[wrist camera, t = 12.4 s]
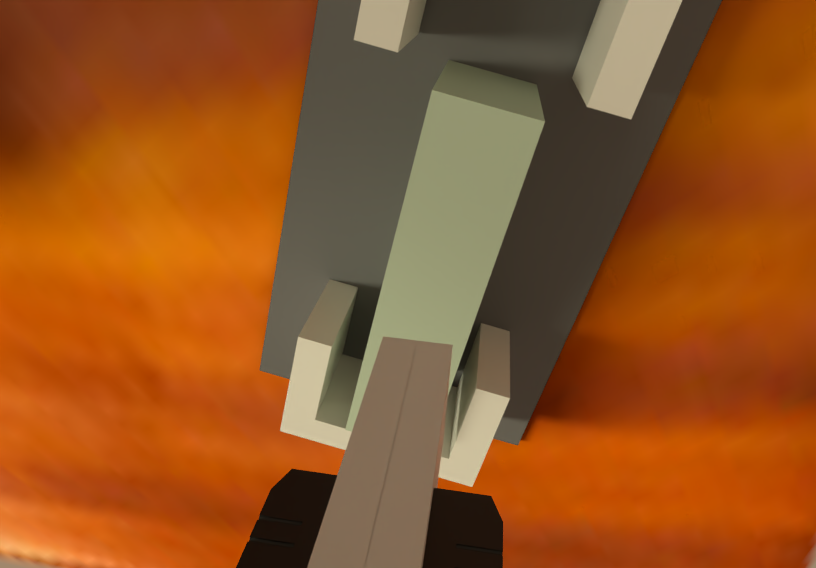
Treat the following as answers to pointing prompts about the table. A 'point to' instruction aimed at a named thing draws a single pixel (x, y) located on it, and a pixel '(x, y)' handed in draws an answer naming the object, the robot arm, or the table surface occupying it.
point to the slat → (454, 211)
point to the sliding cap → (600, 58)
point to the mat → (395, 152)
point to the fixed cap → (338, 375)
